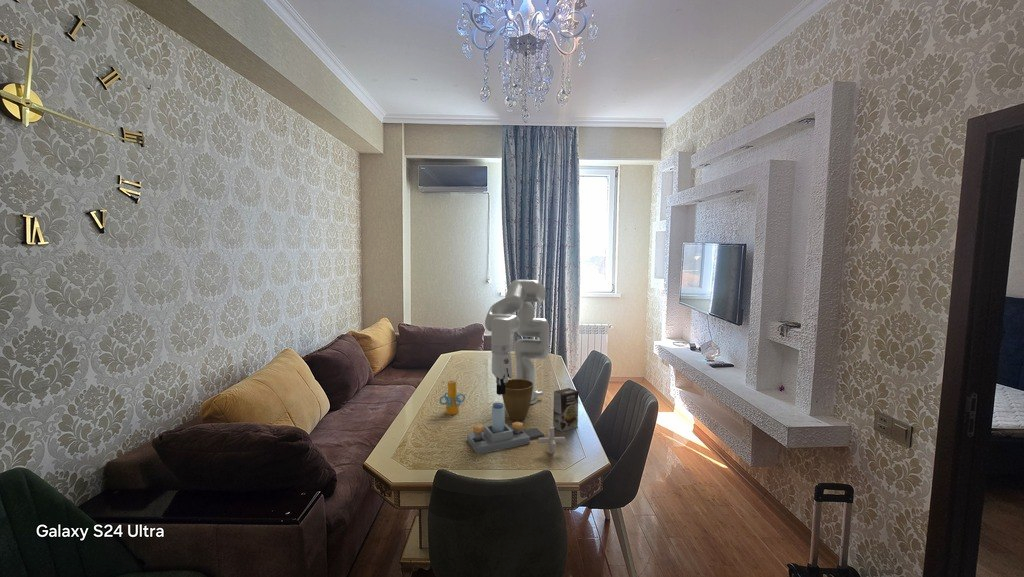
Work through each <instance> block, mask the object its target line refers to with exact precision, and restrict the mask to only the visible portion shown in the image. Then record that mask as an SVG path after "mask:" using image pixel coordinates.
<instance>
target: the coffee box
mask: <svg viewBox="0 0 1024 577" xmlns="http://www.w3.org/2000/svg"><path fill="white" fill-rule="evenodd" d="M552 416H553V417H552V419H553V420H552V421H553V422H552V427H554V429H556V430H558V431H559V432H565V431H569V430H573V429H576V428H578V425H579V424H578V423H579V391H578V390H575V389H573V388H570V387H567V388H564V389H559V390H554V391H553V415H552Z"/></svg>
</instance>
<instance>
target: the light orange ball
mask: <svg viewBox="0 0 1024 577" xmlns="http://www.w3.org/2000/svg"><path fill="white" fill-rule="evenodd" d="M523 424H524V423H523V422H520V421H514V422H512V423H511V426H512V429H514V434H515V435H516V434H521V430H523V429H524V425H523Z"/></svg>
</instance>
